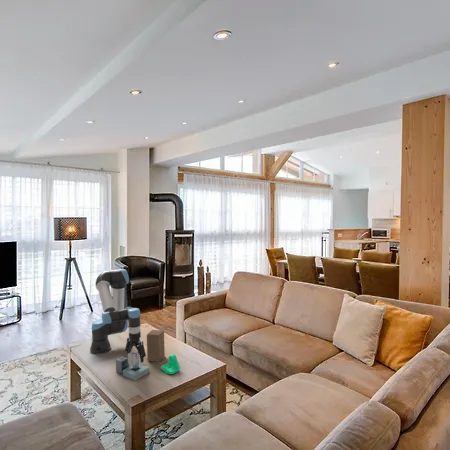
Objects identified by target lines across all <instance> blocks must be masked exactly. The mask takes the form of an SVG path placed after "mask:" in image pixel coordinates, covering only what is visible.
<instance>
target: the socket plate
mask: <svg viewBox="0 0 450 450" xmlns="http://www.w3.org/2000/svg"><path fill="white" fill-rule="evenodd" d="M149 367H150V366H146V365H144V364H143V366H142V367H140V366H139V370H137V371H133V364H132V365H129V367H128V368H126V369H124V370H123V374H122V376H124V377H126V378H129V379H131V380H134V381H136V380H138V379H140V378H141V377H143V375H144V376H145V375H147V374H149V373H150V368H149Z"/></svg>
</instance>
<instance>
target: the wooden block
mask: <svg viewBox="0 0 450 450" xmlns="http://www.w3.org/2000/svg"><path fill="white" fill-rule="evenodd" d="M165 351H166V349H165V331H164V330H161V329H151V330H150V331H148V333H147V334H146V359H147V361H148V362H156V363H157V362H158V363H159V362H161V361H162V360H163V358H165V357H166V356H165V354H166V353H165Z"/></svg>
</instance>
